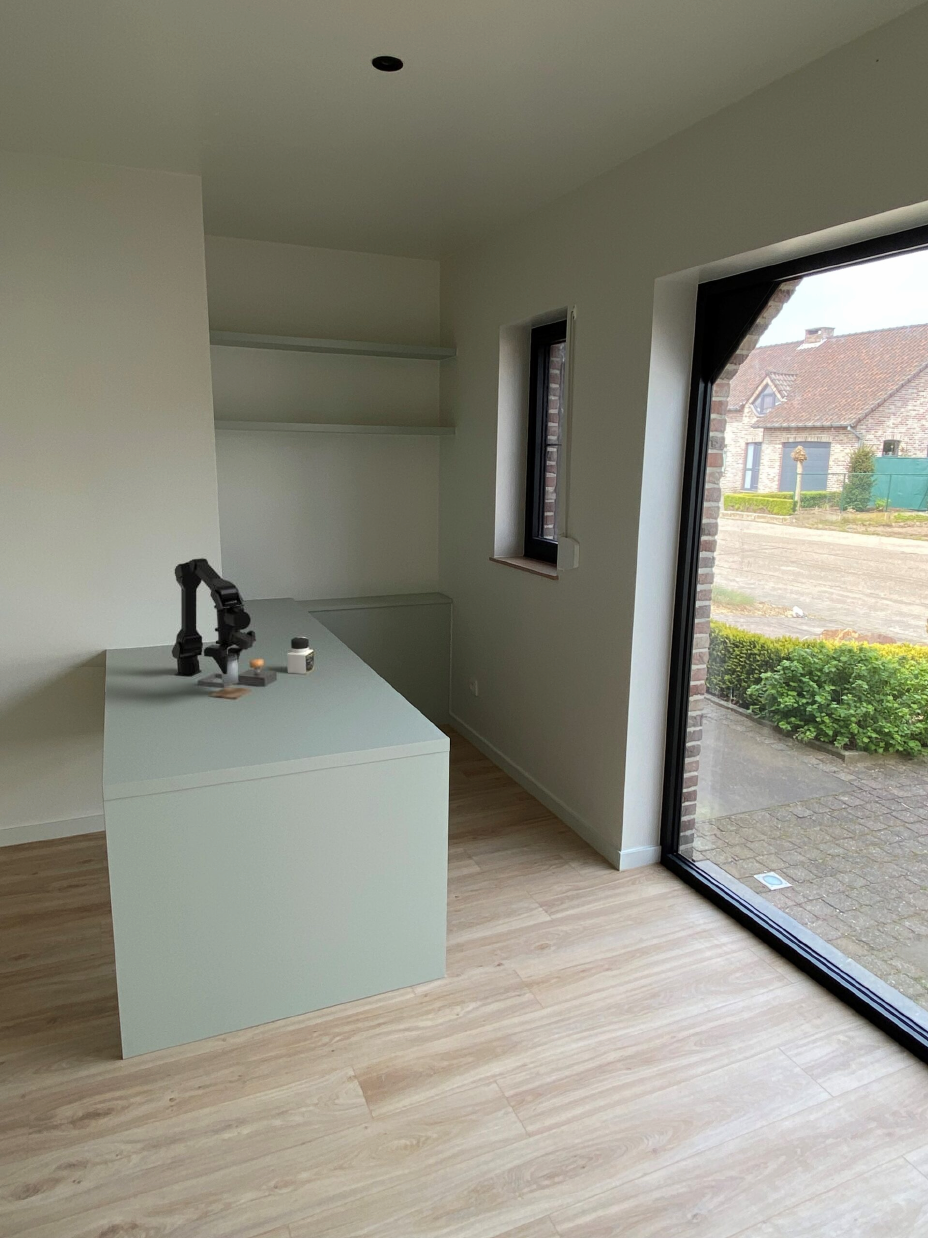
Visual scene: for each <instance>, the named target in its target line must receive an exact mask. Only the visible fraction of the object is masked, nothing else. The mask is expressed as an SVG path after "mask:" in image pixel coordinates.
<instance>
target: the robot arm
mask: <svg viewBox="0 0 928 1238" xmlns="http://www.w3.org/2000/svg"><path fill="white" fill-rule="evenodd" d="M174 576H175V580H176V583H177V584H178V585H179V587H180V589H181V591H180V593H181V594H180V596H181V601H180V605H181V609H180V612H181V613H180V614H181V615H180V618H181V622H180V623H181V624H180V625H181V628H180V630H179V631H178V633H177V634H176V637H175V638H176V640H175V643H174V645H173V648H172V649H171V655H172V657H173V659H176V663H177V672H175V674H174V675H176V676H184V677H192V676H195V675H197V674H198V673H201V672H202V669H200V661H199V658H198V656H202V654H203V656H204V657H208V658H212V659H213V660H214V661H215V663H216V664H217V666H218V668H219V669H220V671H221V673H223V674H227V664H228V658H229V657H230V655H231V654H228V653H235V654H237V663H238V664H239V659H240V656H241V653H242V652H243V651H244V650H245V651H248V649H250V648H253V645H254V643H255V642H256V641H257V639H256V638H257V637H256V632H255V631H253V630H248V631H247V632H246V631H245V632H243V631H242V630H246V629H247V628H248V627H250V625H251V621H252V619H251V616H250V614H249V613H248V612H247V611H245V607H244V606H245V604H244V599H243V597H242V595H241V593H240V591H239V589H238V587H237V586H236V585H235V584H234V583H233V582H231V580H228V579H227V580H226V579H224V578H222V577H221V576H220V574H219V573H217V572H216V570H215V569H214V568H213V567H212V566H211V565H210V564H209V561H208V560H207V558H204V557H201V558H194V559H193V558H192V559H191V560H189V561H187V562H184V563H177V565H176V566H175V568H174ZM202 582H203V583H204V585H206V587H208V588H209V590H210V597H211V599H212V601H213V603H214V606H213V608H214V610H216V619H217V621H216V624H217V627H215V628H214V632H217V640H215V644H211V645H208V646H206V647H205V648H204V649H203V646H204V642H203V636H202V635H201V634H200V633H199V631H198V630H197V589H198V588H199V587H200V585H201V583H202Z"/></svg>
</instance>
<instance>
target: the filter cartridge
mask: <svg viewBox="0 0 928 1238" xmlns="http://www.w3.org/2000/svg"><path fill="white" fill-rule="evenodd" d="M228 654H231V655H230V657H229V658H228V664H227V674H223V673H222V672H221V673H222V678H221V682H222V683H223V684H226V685H229V686H231V685H236V684H238V682H239V681H238V675H239V666H238V665H239V662H238V663H237V654H235V653H228Z"/></svg>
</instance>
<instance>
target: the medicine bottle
mask: <svg viewBox="0 0 928 1238" xmlns="http://www.w3.org/2000/svg"><path fill="white" fill-rule="evenodd" d="M290 643H291V644H290V648H291V649H290V650H291V651H289V652H287V654H286V662H287V674H299V675H307V674H308V673H310V672H312V671H314V669H315V660H314V658H315V656H314V655H315V654H314V650H313V649H310V646H309V645H310V644H309V643H310V641H309V639H308V637H305V636H297V637H296V636H295V637H293V638H291V639H290Z"/></svg>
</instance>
